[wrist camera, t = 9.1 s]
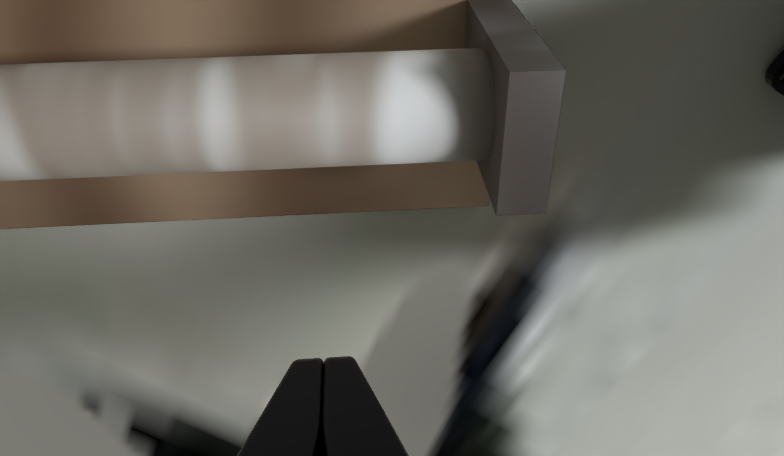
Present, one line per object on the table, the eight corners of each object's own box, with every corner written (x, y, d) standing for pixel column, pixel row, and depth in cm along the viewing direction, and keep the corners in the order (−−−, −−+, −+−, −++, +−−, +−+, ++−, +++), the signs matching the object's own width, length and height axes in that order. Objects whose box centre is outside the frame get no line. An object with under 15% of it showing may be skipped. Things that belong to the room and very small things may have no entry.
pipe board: (512, -137, 18) (590, -97, 12) (486, 190, 23) (531, 313, 18) (-474, -119, 16) (-859, -65, 11) (-250, 224, 22) (-433, 368, 17)
